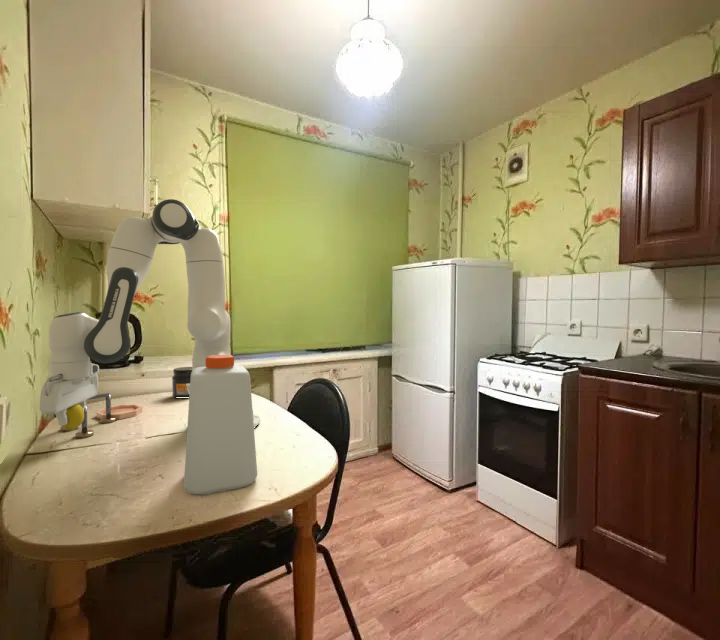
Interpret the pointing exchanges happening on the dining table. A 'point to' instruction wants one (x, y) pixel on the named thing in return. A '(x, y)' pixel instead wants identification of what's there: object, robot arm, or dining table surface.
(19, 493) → the dining table surface
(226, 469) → the plastic bottle
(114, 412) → the terracotta dish
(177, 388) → the supplement container
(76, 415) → the lemon
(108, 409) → the metal pipe stand
